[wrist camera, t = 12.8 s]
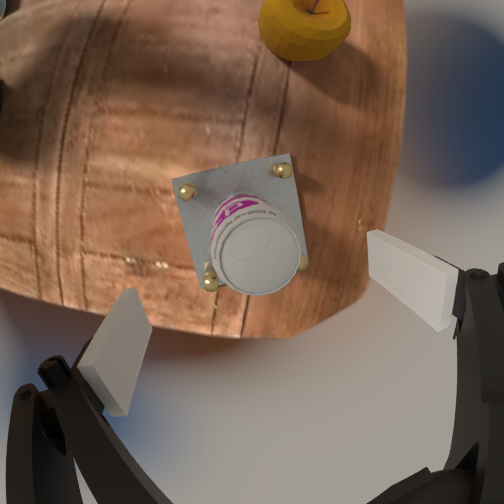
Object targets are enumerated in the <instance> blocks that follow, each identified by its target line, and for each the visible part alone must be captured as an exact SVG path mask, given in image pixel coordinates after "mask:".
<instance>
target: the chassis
mask: <svg viewBox="0 0 504 504" xmlns="http://www.w3.org/2000/svg"><path fill="white" fill-rule="evenodd" d="M171 180H172V184H173V188H174V192H175V196H176V200H177V204H178V208H179V212H180V216H181V220H182V223H183V227H184V231H185V235H186V238H187V242H188V245H189V249H190V253H191V256H192V260H193V263H194V266H195V270H196V273H197V277H198V280H199V283H200V287H201V289H205V290H206V291H207V292H214V291H216V290H217V289H218V285H222V284H225V283H224V282H223V281H222V280H221V279H220V278H219V276H218V274H217V272H216V271H215V269H214V267H213V265H212V256H211V238H212V224H213V219H214V215H215V211H216V210H217V208H218V207H219V205H220V204H221V203H222V202H223V201H224V200H226V199H227V198H229V197H230V196H232V195H236V194H240V193H246V194H253V195H256V196H258V197H260V198H262V199H263V200H265V201H266V202H268V203H269V204H271V205H272V206H274V207H275V208H277V209H278V210H280V211H281V212H282V213H284V214H285V215H286V216H287V217H288V218H289V219H290V220H291V221H292V222H293V223H294V224H295V225H296V227H297V229H298V232H299V234H300V237H301V240H302V257H301V260H300V263H299V266H298V269H297V270H304V269H306V268H307V267H308V264H309V261H308V256H307V250H306V243H305V237H304V230H303V224H302V218H301V212H300V206H299V200H298V195H297V189H296V184H295V178H294V173H293V167H292V163H291V158H290V153H288V154H282V155H277V156H271V157H266V158H261V159H256V160H251V161H246V162H241V163H236V164H232V165H227V166H223V167H218V168H214V169H210V170H206V171H202V172H198V173H194V174H190V175H186V176H182V177H178V178H175V179H171Z"/></svg>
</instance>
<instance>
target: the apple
mask: <svg viewBox="0 0 504 504" xmlns="http://www.w3.org/2000/svg"><path fill="white" fill-rule="evenodd" d="M258 24H259V31H260V34H261V37H262V40H263V42H264V43H265V45H266V47H267V48H268V49H269V50H270V51H271V52H272V53H273V54H275V55H276V56H278V57H281V58H283V59H286V60H289V61H315V60H319V59H322V58H324V57H326V56H328V55H329V54H330V53H331V52H333V51H334V50H335V49H336V48H337V47H338V46H339V45H340V44H341V43H342V42H343V41H344V39H345V38H346V37H347V36H348V34H349V32H350V29H351V15H350V13H349V11H348V8H347V6H346V4H345V2H344V0H265V1H264V2H263V4H262V6H261V10H260V14H259V20H258Z"/></svg>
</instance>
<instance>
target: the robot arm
mask: <svg viewBox="0 0 504 504" xmlns="http://www.w3.org/2000/svg"><path fill="white" fill-rule="evenodd" d="M5 9H6V0H0V17H1V16H2V14H3V13H4V11H5ZM1 103H2V88H1V84H0V109H1ZM367 244H368V263H369V276H370V277H371V278H372V279H374V280H375V281H376V282H377V283H379V284H380V285H381V286H382V287H384V288H385V289H386V290H388V291H389V292H390V293H391V294H392V295H394V296H395V297H397V299H399V300H400V301H401V302H402V303H404V304H405V305H406V306H407V307H409V308H410V309H411V310H412V311H413V312H414V313H416V314H417V315H418V316H419V317H420V318H422V319H423V320H424V321H425V322H426V323H427V324H429V325H430V326H431V327H432V328H433V329H435V330H436V331H437V332H438V333H439V332H440V331H442V330H444V329H446V328H448V327H449V326H450V323H451V318H452V314H453V315H454V316H455V317H457V323H456V328H455V332H454V336H453V339H455V337H456V336H457V397H456V410H455V420H454V429H453V437H452V443H451V449H450V454H449V457H448V459H447V462H446V464H445V466H444V469H443V470H441V471H437V472H432V473H430V471H429V469H428V468H427V467H425V468H424V469H422V470H420V471H419V472H417V473H415V474H413V475H412V476H410V477H408V478H406V479H404V480H402V481H400V482H398V483H396V484H394V485H392V486H391V487H389V488H388V489H387V490H385V491H384V492H383V493H381V494H380V495H379V496H377V497H376V498H374V499H373V500H372V501H370V502H369V503H367V504H504V262H503V263H500V264H499V267H498V273H497V274H495V275H490V274H489V273H488V272H487V271H485V270H482V269H476V268H474V269H469V270H467V271H466V272H465V271H464V270H461V269H460V268H458V267H456V266H454V265H452V264H449V263H448V262H447V261H443V259H441V258H439V257H437V256H433V255H430V254H428V253H426V252H424V251H422V250H420V249H418V248H416V247H414V246H412V245H410V244H408V243H406V242H404V241H401V240H399V239H397V238H395V237H393V236H391V235H389V234H387V233H384V232H382V231H380V230H378V229H377V230H373V231H369V232H367ZM151 332H152V327H151V325H150V322H149V320H148V318H147V315H146V313H145V310H144V308H143V305H142V303H141V300H140V298H139V295H138V293H137V290H136V287H133V288H129V289H124V290H123V291H122V292H121V294H120V296H119V297H118V299H117V300H116V302H115V303H114V305H113V306H112V308H111V310H110V311H109V313H108V314H107V316H106V317H105V319H104V321H103V322H102V324H101V326H100V327H99V329H98V331H97V332H96V334H95V336H94V337H92V338H91V339H90V340H89V341H88V342H87V343H86V344H85V345H84V347H83V349H82V350H81V351H82V352H80V354H79V355H78V357H77V359H76V361H75V362H74V364H73V366H72V368H71V369H70V368H69V366H68V364H67V363H66V361H65V360H64V358H63V357H62V356H53V357H50V358H48V359H47V360H45V361H44V362H43V363H42V364H41V365H40V366H39V368H38V374H39V376H40V377H41V379H42V380H43V382H44V383H45V384H46V386H47V387H48V390H45V391H42V392H39V391H38V390H37V388H36V387H35V385H34V384H26V385H24V386H21V387H20V388H19V389H18V390H17V392H16V393H15V395H14V399H13V405H12V410H11V417H10V424H9V433H8V442H7V455H6V501H7V504H83V501H82V497H81V493H80V489H79V484H78V480H77V475H76V470H75V464H74V459H75V461H76V463H77V465H78V468H79V470H80V472H81V474H82V476H83V477H84V479H85V481H86V483H87V485H88V487H89V489H90V491H91V492H92V494H93V496H94V498H95V499H96V501H97V503H98V504H173V503H172V502H171V501H170V500H169V499H168V498H167V497H166V496H165V495H164V493H163V492H162V491H161V490H160V489H159V488H158V487H157V486H156V485H155V483H154V482H153V481H152V480H151V479H150V478H149V477H148V475H147V474H146V473H145V472H144V471H143V469H142V468H141V467H140V466H139V464H138V463H137V462H136V461H135V459H134V458H133V457H132V455H131V454H130V453H129V451H128V450H127V449H126V447H125V446H124V445H123V443H122V442H121V440H120V439H119V438H118V436H117V435H116V433H115V432H114V430H113V429H112V427H111V426H110V424H109V423H108V421H107V419H106V418H105V417H104V416H103V414H102V413H103V410H104V407H105V408H106V410H107V411H108V412H109V413H110V415H111V416H127V415H128V411H129V407H130V403H131V399H132V395H133V392H134V388H135V385H136V381H137V378H138V374H139V371H140V367H141V364H142V360H143V357H144V354H145V350H146V348H147V344H148V341H149V338H150V335H151ZM73 457H74V458H73Z"/></svg>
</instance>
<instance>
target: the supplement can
mask: <svg viewBox="0 0 504 504" xmlns="http://www.w3.org/2000/svg"><path fill="white" fill-rule="evenodd" d="M211 256H212V265H213V267H214V269H215V271H216V272H217V274H218V276H219V278H220V279H221V280H222V281H223V282H224V283H225V284H227V285H228V286H229V287H230V288H231V289H234V290H236V291H239V292H241V293H244V294H247V295H259V296H263V295H267V294H270V293H274V292H276V291H278V290H279V289H281V288H282V287H284V286H285V285H287V284H288V283H289V281H290V280H291V279H292V278H293V276H294V275H295V274H296V271H297V269H298V266H299V263H300V260H301V257H302V240H301V237H300V234H299V232H298V229H297V227H296V225H295V224H294V223H293V222H292V221H291V220H290V219H289V218H288V217H287V216H286V215H285V214H284V213H282V212H281V211H280V210H278V209H277V208H275V207H274V206H272V205H271V204H269V203H268V202H266V201H265V200H263V199H262V198H260V197H258V196H256V195H253V194H246V193H240V194H236V195H232V196H230V197H229V198H227V199H226V200H224V201H223V202H222V203H221V204H220V205H219V207H218V208H217V210H216V211H215V215H214V219H213V224H212V238H211Z"/></svg>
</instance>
